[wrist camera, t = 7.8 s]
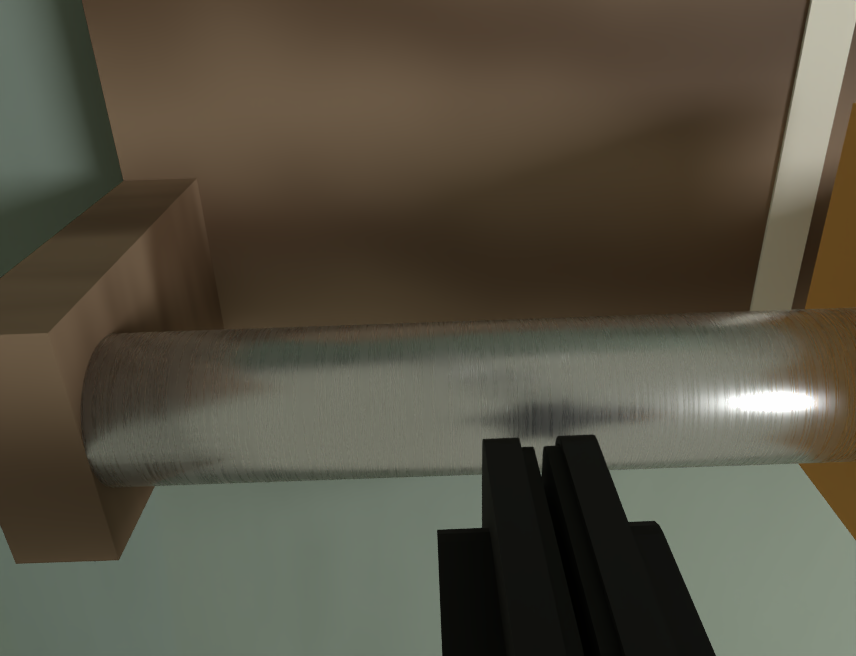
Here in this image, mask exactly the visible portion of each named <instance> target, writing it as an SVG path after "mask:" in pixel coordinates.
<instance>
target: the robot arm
mask: <svg viewBox="0 0 856 656" xmlns="http://www.w3.org/2000/svg"><path fill="white" fill-rule="evenodd" d="M437 536H438V561H439V585H440V609H441V634H442V656H716V655H715V653H714V650H713V648H712V646H711V643H710V641H709V639H708V636H707V634H706V632H705V629H704V627H703V625H702V622H701V620H700V617H699V615H698V613H697V610H696V608H695V606H694V603H693V601H692V599H691V596H690V594H689V592H688V589H687V587H686V585H685V582H684V580H683V578H682V575H681V573H680V571H679V568H678V566H677V564H676V561H675V559H674V557H673V554H672V552H671V550H670V547H669V545H668V543H667V540H666V538H665V536H664V533H663V531H662V530H661V528H660V526H659V525H658V524H657V523H656V522H655V521H643V522H628V520H627V518H626V515H625V512H624V510H623V507H622V504H621V502H620V499H619V496H618V494H617V491H616V488H615V486H614V483H613V480H612V478H611V475H610V472H609V470H608V467H607V464H606V461H605V459H604V456H603V453H602V451H601V448H600V445H599V443H598V440H597V438H596V436H595V435H594V434H589V435H565V436H557V438H556V442H555V446H544V448H543V455H542V477H541V474H540V470H539V465H538V461H537V457H536V453H535V449H534V447H533V446H532V447H521V443H520V439H519V438H518V437H516V438H491V439H483V440H482V528H471V529H446V530H437Z"/></svg>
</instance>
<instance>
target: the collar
mask: <svg viewBox="0 0 856 656" xmlns="http://www.w3.org/2000/svg"><path fill="white" fill-rule="evenodd" d="M852 307H856V103H853V105H852V110H851V114H850V118H849V122H848V127H847V131H846V135H845V140H844V144H843V148H842V152H841V157H840V161H839V165H838V169H837V174H836V178H835V182H834V186H833V191H832V195H831V199H830V204H829V208H828V212H827V216H826V221H825V225H824V229H823V233H822V238H821V242H820V246H819V250H818V255H817V259H816V263H815V267H814V272H813V276H812V280H811V285H810V289H809V293H808V297H807V302H806V306H805V309H824V308H852ZM799 465H800V466H801V468H802V469H803V470H804V472H805V473H806V474H807V476H808V477H809V478H810V480H811V481H812V482H813V484H814V485H815V486H816V488H817V489H818V490H819V492H820V493H821V494H822V496H823V497H824V498H825V500H826V501H827V502H828V504H829V505H830V506H831V508H832V509H833V510H834V512H835V513H836V514H837V516H838V517H839V519H840V520H841V521H842V523H843V524H844V525H845V527H846V528H847V529H848V531H849V532H850V533H851V535H852V536H853V537H854V539H855V540H856V462H827V463H799Z"/></svg>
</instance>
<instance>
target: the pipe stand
mask: <svg viewBox="0 0 856 656" xmlns="http://www.w3.org/2000/svg"><path fill="white" fill-rule="evenodd" d="M82 4H83V8H84V12H85V17H86V21H87V25H88V30H89V34H90V38H91V43H92V47H93V51H94V56H95V60H96V64H97V68H98V73H99V77H100V81H101V86H102V90H103V94H104V99H105V103H106V107H107V112H108V116H109V120H110V125H111V129H112V133H113V138H114V142H115V146H116V151H117V155H118V159H119V164H120V168H121V172H122V177H123V182H121V183H120V184H119V185H118V186H116V187H115V188H114V189H112V190H111V191H110V192H109V193H107V194H106V195H105V196H104V197H102V198H101V199H100V200H99V201H97V202H96V203H95V204H93V205H92V206H91V207H90V208H88V209H87V210H86V211H85V212H83V213H82V214H81V215H80V216H78V217H77V218H76V219H74V220H73V221H72V222H71V223H69V224H68V225H67V226H66V227H64V228H63V229H62V230H60V231H59V232H58V233H57V234H55V235H54V236H53V237H52V238H50V239H49V240H48V241H47V242H45V243H44V244H43V245H41V246H40V247H39V248H38V249H36V250H35V251H34V252H33V253H31V254H30V255H29V256H28V257H26V258H25V259H24V260H22V261H21V262H20V263H19V264H17V265H16V266H15V267H14V268H12V269H11V270H10V271H8V272H7V273H6V274H5V275H3V276H2V277H1V278H0V525H1V528H2V530H3V533H4V535H5V538H6V540H7V543H8V545H9V548H10V550H11V552H12V555H13V557H14V560H15V562H16V564H21V563H49V562H78V561H107V560H119V559H120V557H121V555H122V552H123V550H124V548H125V546H126V544H127V542H128V540H129V538H130V536H131V534H132V532H133V530H134V528H135V526H136V524H137V522H138V520H139V518H140V515H141V513H142V511H143V509H144V507H145V505H146V503H147V501H148V499H149V497H150V495H151V493H152V491H153V489H154V487H155V486H168V485H197V484H226V483H254V482H283V481H312V480H340V479H369V478H398V477H426V476H455V475H482V440H483V439H491V438H516V437H518V438H519V439H520V443H521V447H532V446H533V447H534V449H535V453H536V457H537V461H538V465H539V470H540V473H541V472H542V455H543V448H544V446H555V442H556V438H557V436H565V435H589V434H594V435H595V436H596V438H597V440H598V443H599V445H600V448H601V451H602V453H603V456H604V459H605V461H606V464H607V467H608V470H627V469H655V468H684V467H713V466H741V465H770V464H799V463H827V462H856V307H852V308H824V309H805V306H806V302H807V297H808V293H809V289H810V285H811V280H812V276H813V272H814V267H815V263H816V259H817V255H818V250H819V246H820V242H821V238H822V233H823V229H824V225H825V221H826V216H827V212H828V208H829V204H830V199H831V195H832V191H833V186H834V182H835V178H836V174H837V169H838V165H839V161H840V157H841V152H842V148H843V144H844V140H845V135H846V131H847V127H848V122H849V118H850V114H851V110H852V105H853V103H856V0H82Z"/></svg>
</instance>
